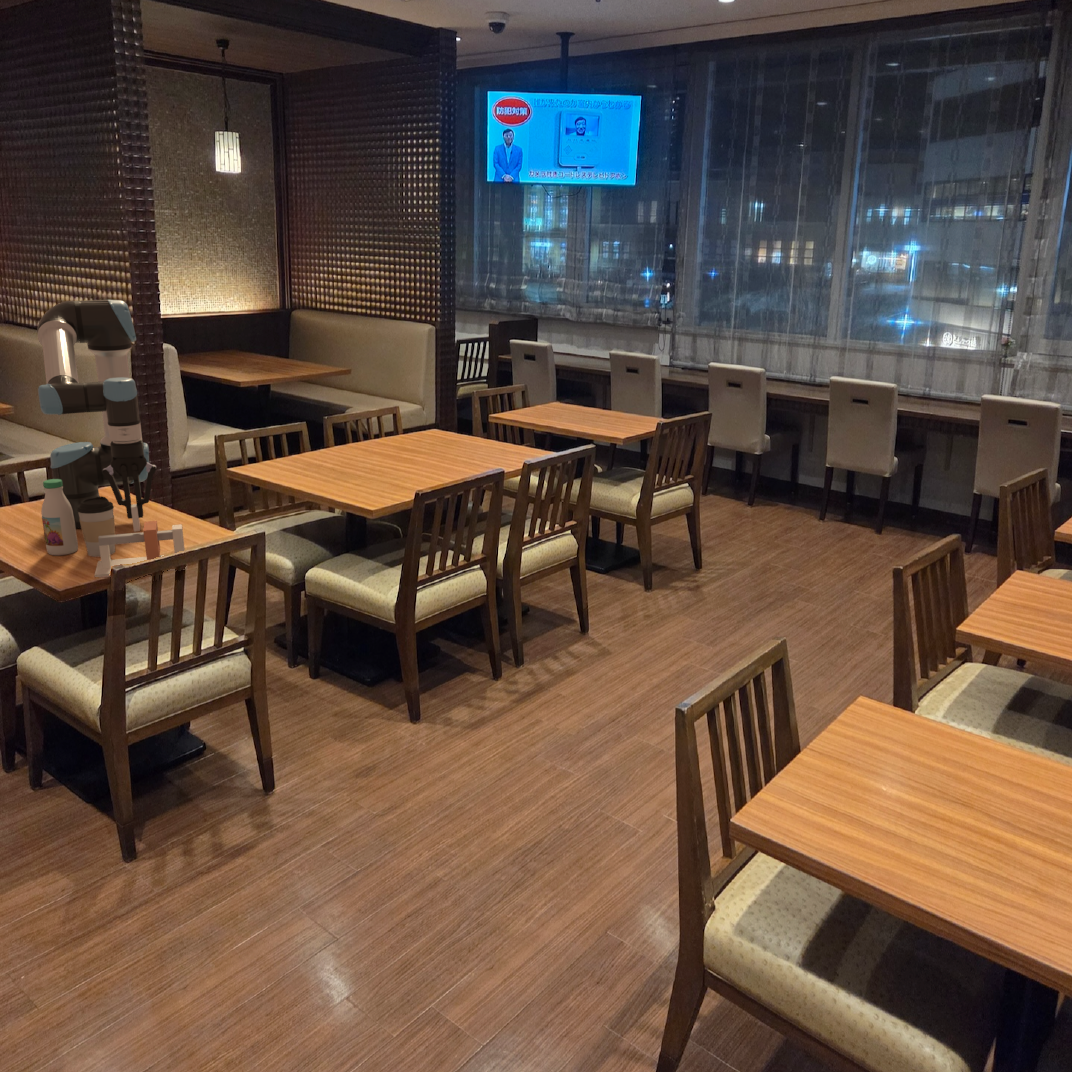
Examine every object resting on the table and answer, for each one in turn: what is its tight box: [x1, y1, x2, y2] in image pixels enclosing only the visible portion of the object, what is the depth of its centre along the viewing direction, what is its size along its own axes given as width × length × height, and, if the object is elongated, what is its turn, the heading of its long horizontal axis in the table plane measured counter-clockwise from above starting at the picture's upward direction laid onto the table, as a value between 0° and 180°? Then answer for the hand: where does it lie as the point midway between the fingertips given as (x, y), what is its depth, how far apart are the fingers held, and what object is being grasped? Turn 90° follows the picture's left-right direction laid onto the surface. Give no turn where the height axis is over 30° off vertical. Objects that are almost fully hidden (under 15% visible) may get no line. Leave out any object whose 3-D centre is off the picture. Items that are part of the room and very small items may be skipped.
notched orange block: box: [142, 520, 161, 560], centre depth 249 cm, size 8×3×8 cm, turn 19°
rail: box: [94, 523, 188, 578], centre depth 249 cm, size 11×22×10 cm, turn 109°
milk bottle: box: [41, 478, 79, 556], centre depth 258 cm, size 8×8×20 cm
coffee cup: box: [77, 495, 116, 558], centre depth 258 cm, size 9×9×15 cm
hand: (137, 529), depth 248 cm, fingers closed
